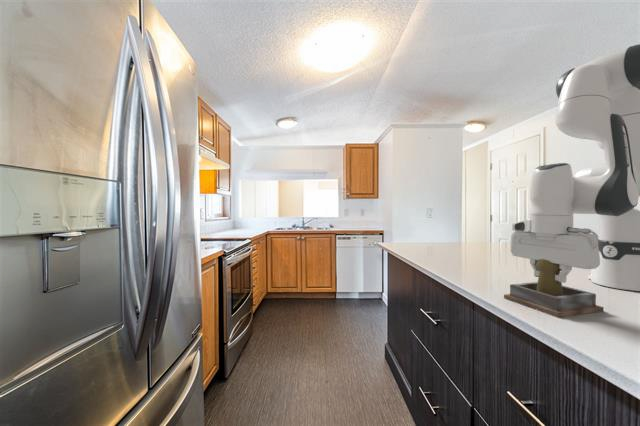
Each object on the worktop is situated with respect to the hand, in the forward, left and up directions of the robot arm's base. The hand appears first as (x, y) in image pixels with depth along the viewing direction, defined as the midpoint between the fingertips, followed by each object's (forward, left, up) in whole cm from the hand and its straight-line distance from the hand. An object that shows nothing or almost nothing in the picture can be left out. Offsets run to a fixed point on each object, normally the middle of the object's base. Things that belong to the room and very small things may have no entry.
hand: (549, 279), depth 75 cm
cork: (0, 0, -6) cm, 6 cm away
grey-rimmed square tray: (0, 0, -7) cm, 7 cm away
